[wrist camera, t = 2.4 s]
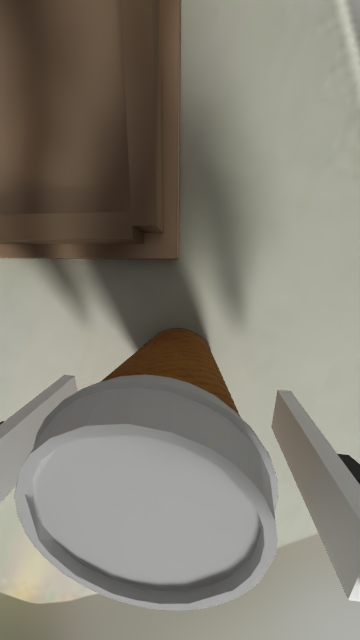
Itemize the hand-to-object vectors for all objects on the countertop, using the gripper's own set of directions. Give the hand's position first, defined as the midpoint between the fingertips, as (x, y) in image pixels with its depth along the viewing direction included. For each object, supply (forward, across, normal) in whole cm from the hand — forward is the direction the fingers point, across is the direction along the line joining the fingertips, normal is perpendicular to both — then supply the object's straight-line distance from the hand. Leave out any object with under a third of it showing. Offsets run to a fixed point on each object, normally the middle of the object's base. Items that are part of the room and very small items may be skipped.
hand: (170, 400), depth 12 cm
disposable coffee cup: (+6, 0, 0) cm, 6 cm away
